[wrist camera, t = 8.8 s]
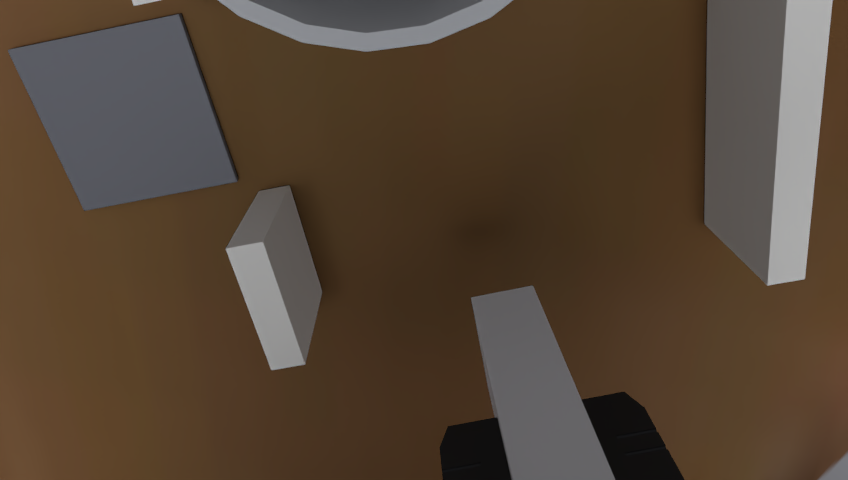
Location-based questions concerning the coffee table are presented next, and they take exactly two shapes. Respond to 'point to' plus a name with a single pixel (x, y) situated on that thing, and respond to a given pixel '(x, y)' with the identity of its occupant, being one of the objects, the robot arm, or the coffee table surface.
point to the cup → (366, 20)
